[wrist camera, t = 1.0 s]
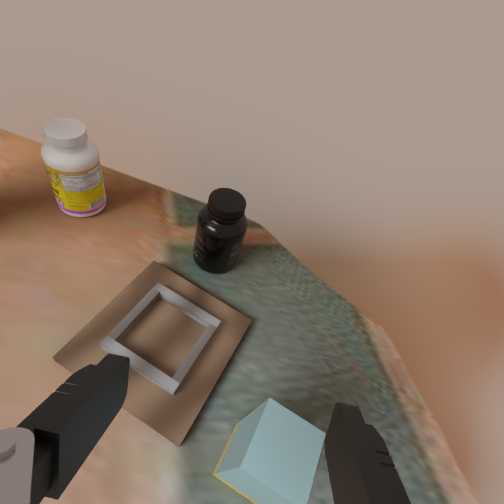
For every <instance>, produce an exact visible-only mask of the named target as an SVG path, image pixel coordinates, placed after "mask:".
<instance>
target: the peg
mask: <svg viewBox="0 0 504 504" xmlns="http://www.w3.org/2000/svg"><path fill="white" fill-rule="evenodd" d="M325 434H326V433H324V432H323V431H321V430H319V429H318V428H316V427H315V426H313V425H312V424H310V423H308V422H307V421H305V420H304V419H302V418H301V417H299V416H298V415H296V414H294V413H293V412H291V411H290V410H288V409H287V408H285V407H283V406H282V405H280V404H279V403H277V402H276V401H274V400H273V399H271V398H269V399H267V400H266V401H265V402H264V403H262V404H261V405H260V406H258V407H257V408H256V409H255V410H253V411H252V412H251V413H250V414H248V415H247V416H246V417H245V418H243V419H242V420H241V421H240V422H238V423H237V424H236V426H235V428H234V430H233V433H232V435H231V437H230V439H229V441H228V443H227V445H226V447H225V449H224V451H223V454H222V456H221V458H220V460H219V462H218V464H217V466H216V468H215V470H214V473H213V475H214V476H215V477H217V478H218V479H220V480H221V481H223V482H224V483H226V484H227V485H228V486H230V487H231V488H233V489H234V490H236V491H237V492H239V493H240V494H241V495H243V496H244V497H246V498H247V499H249V500H250V501H252V502H253V503H254V504H307V502H308V498H309V494H310V491H311V487H312V483H313V479H314V476H315V472H316V468H317V464H318V461H319V457H320V453H321V449H322V446H323V442H324V438H325Z"/></svg>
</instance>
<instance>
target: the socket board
mask: <svg viewBox="0 0 504 504" xmlns="http://www.w3.org/2000/svg"><path fill="white" fill-rule="evenodd" d="M251 321H252V320H251V319H249V318H248V317H246V316H244V315H243V314H241V313H239V312H238V311H236V310H234V309H233V308H231V307H230V306H228V305H226V304H225V303H223V302H221V301H220V300H218V299H216V298H215V297H213V296H212V295H210V294H208V293H207V292H205V291H203V290H202V289H200V288H198V287H197V286H195V285H193V284H192V283H190V282H189V281H187V280H185V279H184V278H182V277H180V276H179V275H177V274H175V273H174V272H172V271H170V270H169V269H167V268H166V267H164V266H162V265H161V264H159V263H157V262H156V261H153V262H152V263H151V264H150V265H149V266H148V267H147V268H146V269H145V270H144V271H143V272H142V273H141V274H139V275H138V276H137V277H136V278H135V279H134V280H133V281H132V282H131V283H130V284H129V285H128V286H127V287H126V288H125V289H124V290H123V291H122V292H121V293H120V294H118V295H117V296H116V297H115V298H114V299H113V300H112V301H111V302H110V303H109V304H108V305H107V306H106V307H105V308H104V309H103V310H102V311H101V312H100V313H99V314H97V315H96V316H95V317H94V318H93V319H92V320H91V321H90V322H89V323H88V324H87V325H86V326H85V327H84V328H83V329H82V330H81V331H80V332H79V333H78V334H76V335H75V336H74V337H73V338H72V339H71V340H70V341H69V342H68V343H67V344H66V345H65V346H64V347H63V348H62V349H61V350H60V351H59V352H58V353H56V354H55V355H54V356H53V359H54V360H55V361H56V362H57V363H59V364H60V365H62V366H63V367H64V368H66V369H67V370H69V371H70V372H72V373H73V374H74V373H75V372H76V371H78V370H80V369H82V368H84V367H85V366H87V365H89V364H93V365H97V364H98V363H99V362H100V361H101V360H102V359H103V358H104V357H105V356H106V355H107V354H109V353H111V354H116V355H121V356H125V357H129V358H130V367H129V378H128V388H127V395H126V398H125V401H124V403H123V405H122V408H124V409H125V410H127V411H128V412H130V413H131V414H133V415H134V416H135V417H137V418H138V419H140V420H141V421H143V422H144V423H146V424H147V425H148V426H150V427H151V428H153V429H154V430H156V431H157V432H159V433H160V434H161V435H163V436H164V437H166V438H167V439H169V440H170V441H172V442H173V443H174V444H176V445H177V446H180V444H181V443H182V441H183V439H184V437H185V436H186V434H187V432H188V430H189V429H190V427H191V425H192V424H193V422H194V420H195V418H196V417H197V415H198V413H199V411H200V410H201V408H202V406H203V404H204V403H205V401H206V399H207V397H208V396H209V394H210V392H211V391H212V389H213V387H214V385H215V384H216V382H217V380H218V378H219V377H220V375H221V373H222V371H223V370H224V368H225V366H226V364H227V363H228V361H229V359H230V357H231V356H232V354H233V352H234V351H235V349H236V347H237V345H238V344H239V342H240V340H241V338H242V337H243V335H244V333H245V331H246V330H247V328H248V326H249V324H250V323H251Z"/></svg>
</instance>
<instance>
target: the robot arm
mask: <svg viewBox="0 0 504 504" xmlns="http://www.w3.org/2000/svg"><path fill="white" fill-rule="evenodd" d="M129 367H130V358H129V357H125V356H121V355H116V354H111V353H109V354H107V355H106V356H105V357H104V358H103V359H102V360H101V361H100V362H99V363H98V364H97V365H93V364H89V365H87V366H85V367H84V368H82V369H80V370H78V371H76V372H75V373H74V374H73V375H71V376H70V377H69V378H68V379H67V380H66V381H65V383H64V384H62V385H61V386H60V387H59V388H58V389H56V391H55V393H52V394H51V395H50V396H49V397H48V398H47V399H46V400H45V401H44V402H43V403H41V404H40V405H39V406H38V407H37V408H36V409H35V410H34V411H33V412H32V413H31V414H30V415H29V416H28V417H26V418H25V419H24V420H23V421H22V422H21V423H20V424H19V425H18V426H17V427H14V428H7V429H3V430H0V504H39V503H40V502H41V501H42V499H43V498H44V497H49V498H53V499H57V500H58V499H59V497H60V496H61V494H62V493H63V491H64V490H65V489H66V487H67V486H68V484H69V483H70V481H71V480H72V478H73V477H74V476H75V474H76V473H77V471H78V470H79V468H80V467H81V465H82V464H83V463H84V461H85V460H86V458H87V457H88V455H89V454H90V452H91V451H92V449H93V448H94V447H95V445H96V444H97V442H98V441H99V439H100V438H101V436H102V435H103V434H104V432H105V431H106V429H107V428H108V426H109V425H110V423H111V422H112V421H113V419H114V418H115V416H116V415H117V413H118V412H119V410H120V409H121V407H122V405H123V403H124V401H125V398H126V395H127V388H128V378H129ZM325 455H326V460H327V466H328V471H329V477H330V482H331V487H332V493H333V498H334V503H335V504H411V503H410V501H409V498H408V496H407V494H406V491H405V489H404V487H403V484H402V482H401V479H400V477H399V475H398V472H397V470H396V469H395V468H394V466H395V465H394V463H393V461H392V458H391V456H389V451H388V449H387V447H386V444H385V442H384V440H383V438H382V437H381V436H380V434H379V433H378V432H377V431H376V429H375V428H374V427H373V426H372V425H368V424H365V422H364V419H363V417H362V414H361V411H360V409H359V408H358V407H357V406H352V405H347V404H343V403H336V405H335V408H334V411H333V414H332V418H331V421H330V424H329V428H328V431H327V434H326V440H325Z"/></svg>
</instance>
